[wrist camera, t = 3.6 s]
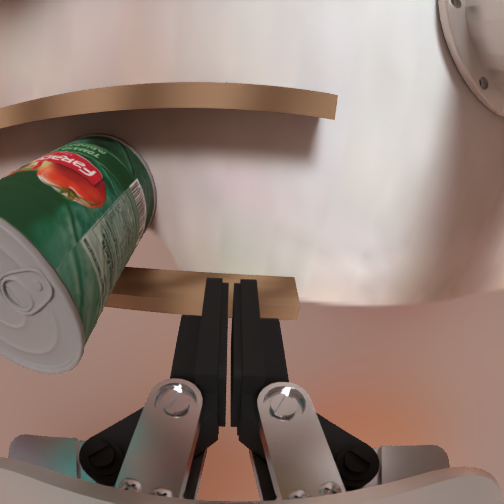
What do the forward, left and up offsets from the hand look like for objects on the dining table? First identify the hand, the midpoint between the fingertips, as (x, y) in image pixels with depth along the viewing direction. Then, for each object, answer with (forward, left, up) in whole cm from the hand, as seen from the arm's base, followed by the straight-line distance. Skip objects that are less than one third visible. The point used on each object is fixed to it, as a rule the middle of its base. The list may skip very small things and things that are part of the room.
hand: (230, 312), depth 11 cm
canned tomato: (+9, -1, -9) cm, 13 cm away
